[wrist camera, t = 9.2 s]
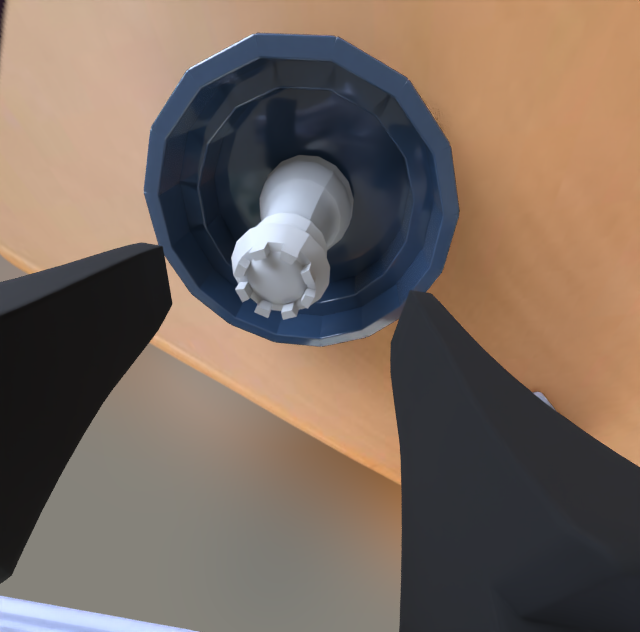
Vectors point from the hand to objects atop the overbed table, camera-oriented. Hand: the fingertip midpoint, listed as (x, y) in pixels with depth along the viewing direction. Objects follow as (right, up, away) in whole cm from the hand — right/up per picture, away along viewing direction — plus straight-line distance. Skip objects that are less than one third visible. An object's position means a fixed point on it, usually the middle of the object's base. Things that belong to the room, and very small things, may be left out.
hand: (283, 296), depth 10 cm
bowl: (+1, +5, +7) cm, 9 cm away
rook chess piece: (+1, +5, +7) cm, 9 cm away
